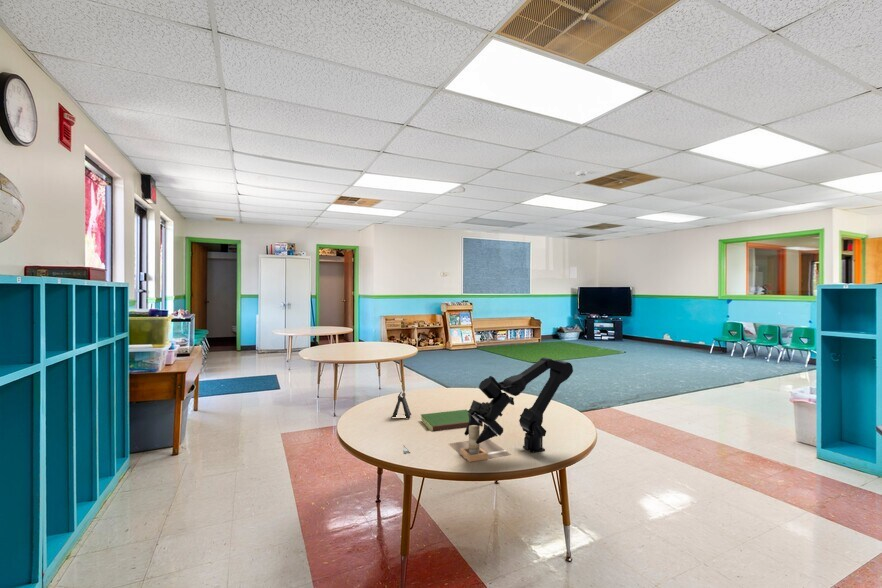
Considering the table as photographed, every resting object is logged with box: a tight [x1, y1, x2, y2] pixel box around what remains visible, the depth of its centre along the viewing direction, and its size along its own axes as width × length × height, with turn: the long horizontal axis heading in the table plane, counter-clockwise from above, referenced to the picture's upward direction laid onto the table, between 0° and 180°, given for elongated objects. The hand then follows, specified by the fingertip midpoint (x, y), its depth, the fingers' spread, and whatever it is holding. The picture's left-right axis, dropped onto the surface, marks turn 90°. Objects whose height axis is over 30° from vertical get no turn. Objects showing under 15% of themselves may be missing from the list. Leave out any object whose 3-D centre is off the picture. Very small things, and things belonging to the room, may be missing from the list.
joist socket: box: [459, 447, 489, 463], centre depth 150 cm, size 8×8×2 cm
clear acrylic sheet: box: [448, 439, 512, 463], centre depth 157 cm, size 18×19×1 cm
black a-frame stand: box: [391, 391, 412, 419], centre depth 200 cm, size 9×6×12 cm, turn 86°
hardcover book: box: [420, 409, 484, 432], centre depth 190 cm, size 25×19×4 cm
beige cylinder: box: [468, 425, 481, 455], centre depth 150 cm, size 4×4×11 cm
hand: (470, 438), depth 149 cm, fingers open, 9 cm apart
